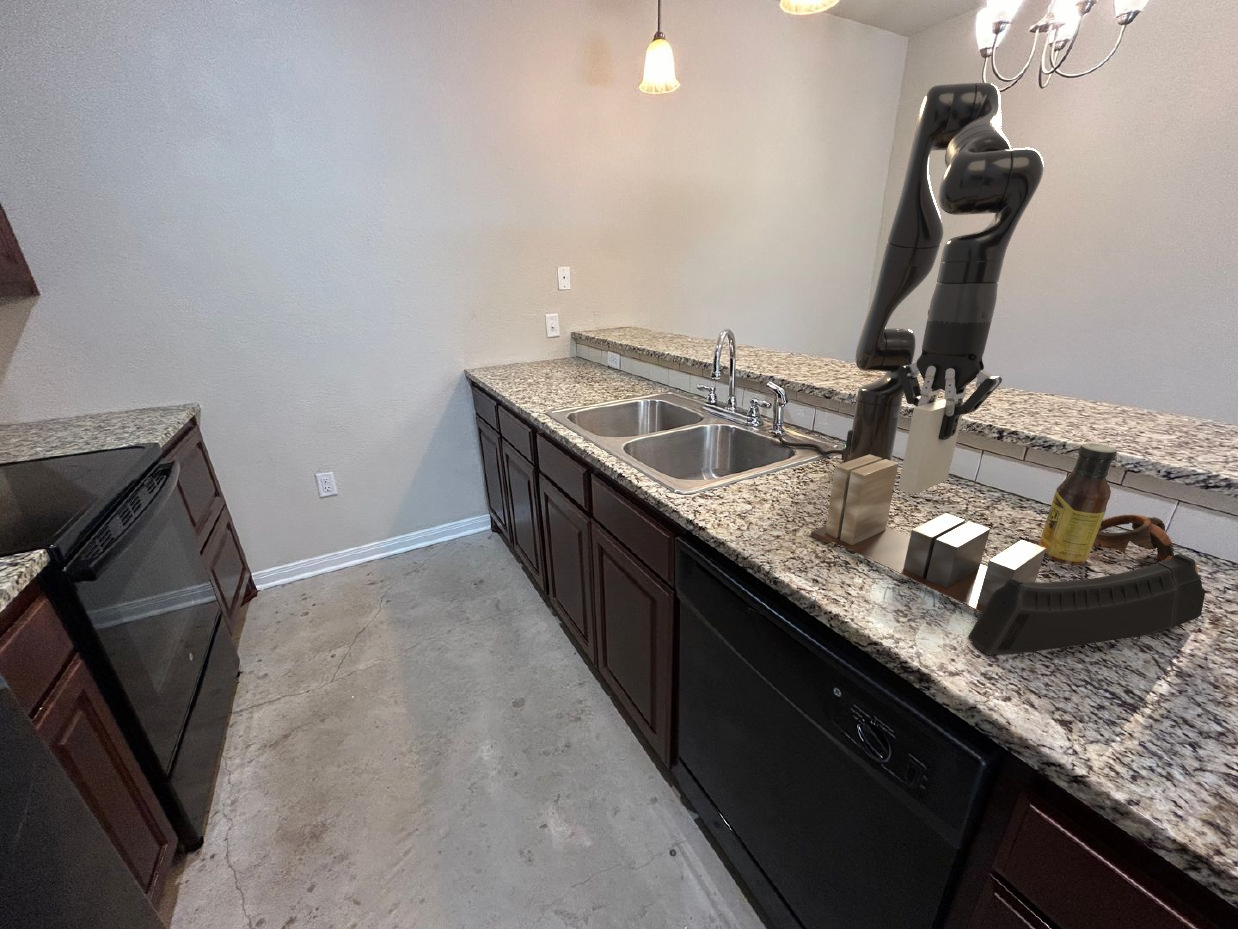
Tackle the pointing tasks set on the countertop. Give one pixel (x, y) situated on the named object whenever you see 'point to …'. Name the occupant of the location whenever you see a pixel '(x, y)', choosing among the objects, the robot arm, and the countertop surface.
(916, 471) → the cream book
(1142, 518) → the rusty ring bracket
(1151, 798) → the countertop surface
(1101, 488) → the sauce bottle
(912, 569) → the book board
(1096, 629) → the magazine
